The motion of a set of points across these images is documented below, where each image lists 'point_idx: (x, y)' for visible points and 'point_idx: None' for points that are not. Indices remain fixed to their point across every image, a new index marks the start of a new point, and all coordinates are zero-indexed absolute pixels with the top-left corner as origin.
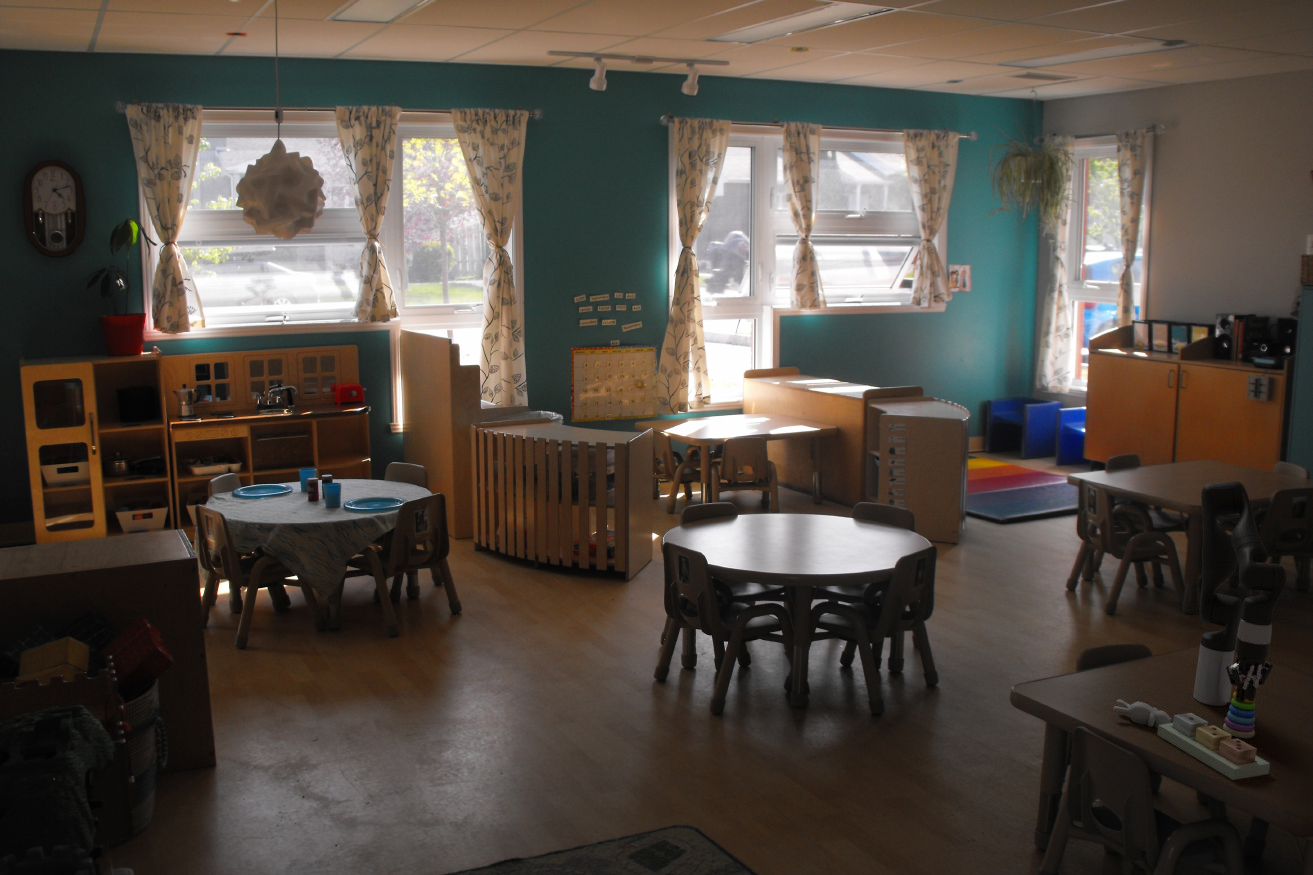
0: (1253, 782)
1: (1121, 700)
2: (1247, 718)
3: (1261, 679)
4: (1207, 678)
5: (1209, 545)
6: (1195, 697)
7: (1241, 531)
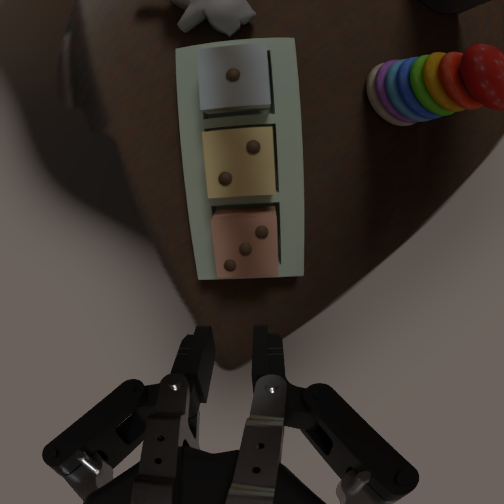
0: (238, 284)
1: None
2: (414, 114)
3: (310, 439)
4: None
5: None
6: None
7: None
